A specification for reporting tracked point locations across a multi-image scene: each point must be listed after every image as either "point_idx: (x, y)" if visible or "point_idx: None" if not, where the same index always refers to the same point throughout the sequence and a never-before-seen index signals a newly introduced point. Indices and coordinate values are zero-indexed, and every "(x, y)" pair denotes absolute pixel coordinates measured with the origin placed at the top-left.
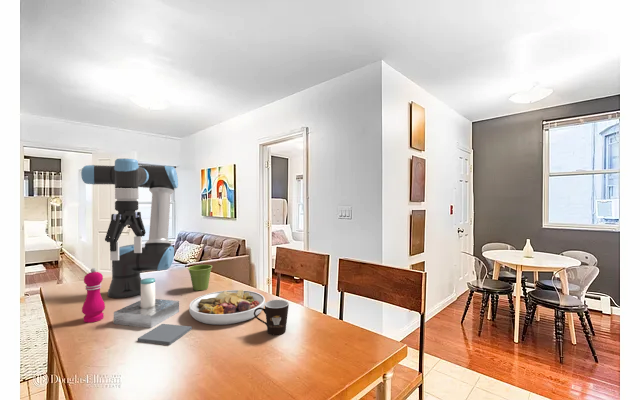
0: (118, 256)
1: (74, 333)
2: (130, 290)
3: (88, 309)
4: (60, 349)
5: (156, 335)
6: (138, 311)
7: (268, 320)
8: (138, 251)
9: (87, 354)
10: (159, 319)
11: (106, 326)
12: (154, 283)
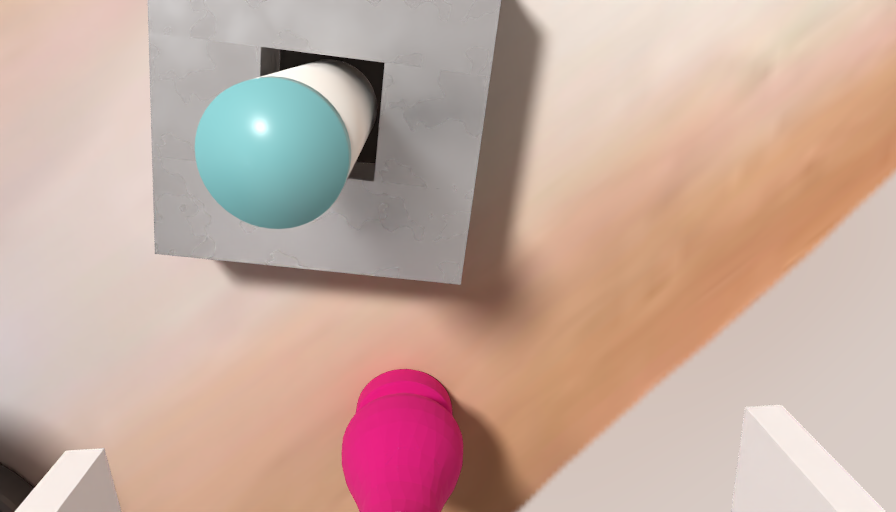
0: (805, 446)
1: (585, 368)
2: None
3: (462, 446)
4: (760, 294)
5: None
6: (433, 120)
7: None
8: (102, 506)
9: (828, 121)
10: None
11: (490, 274)
12: (267, 75)
